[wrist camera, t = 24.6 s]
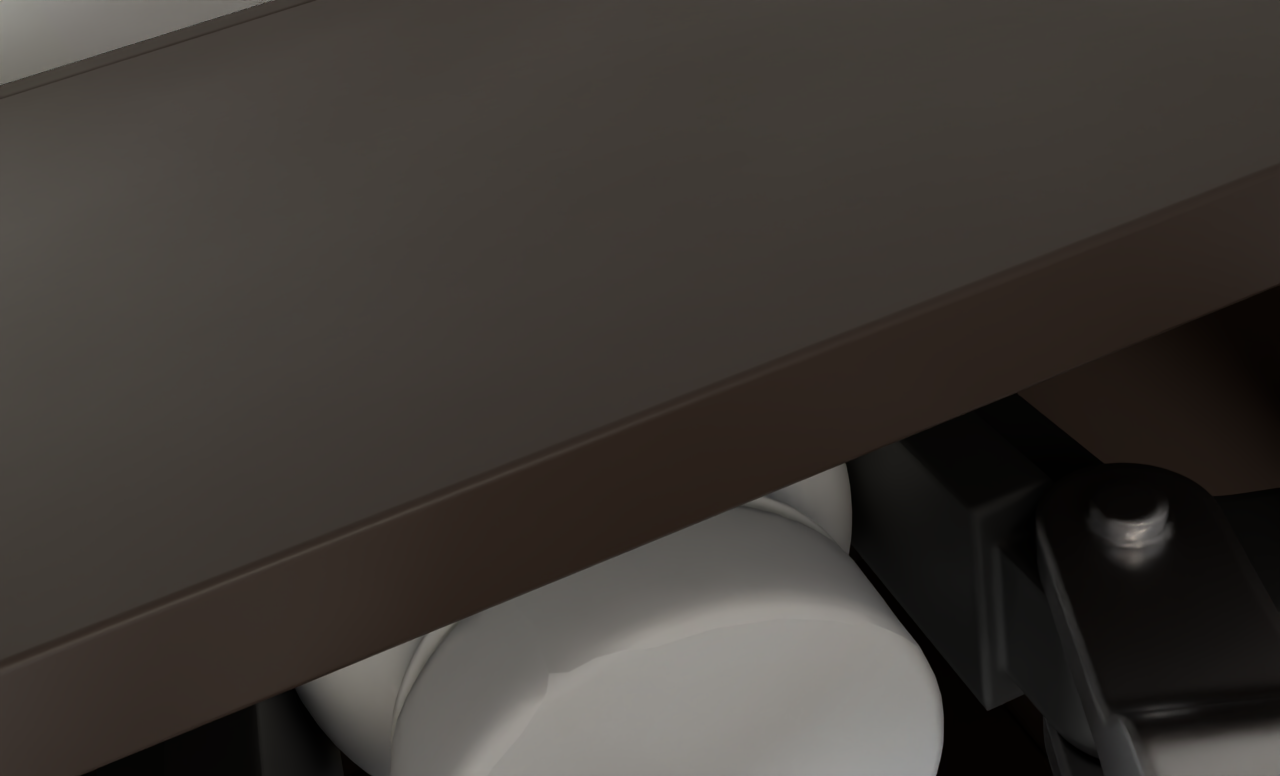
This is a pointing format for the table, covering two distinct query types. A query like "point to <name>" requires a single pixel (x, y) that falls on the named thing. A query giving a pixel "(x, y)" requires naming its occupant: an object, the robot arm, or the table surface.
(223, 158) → the chest
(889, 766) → the supplement bottle
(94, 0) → the table surface
